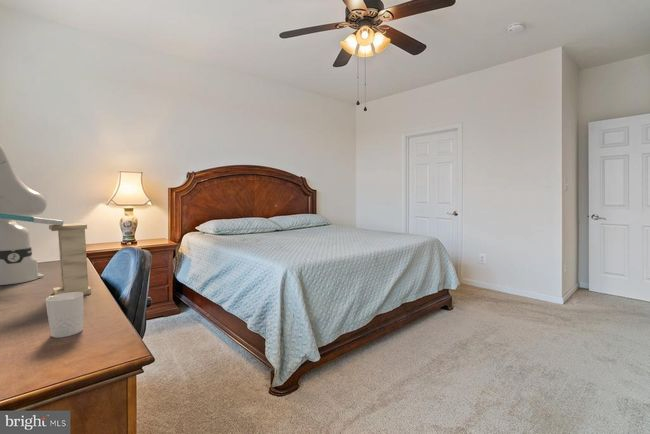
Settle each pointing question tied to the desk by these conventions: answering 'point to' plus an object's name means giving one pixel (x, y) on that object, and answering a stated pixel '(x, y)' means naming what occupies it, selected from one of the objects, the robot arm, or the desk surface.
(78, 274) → the pedestal stand
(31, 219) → the turner
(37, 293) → the desk surface
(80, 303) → the white cup
